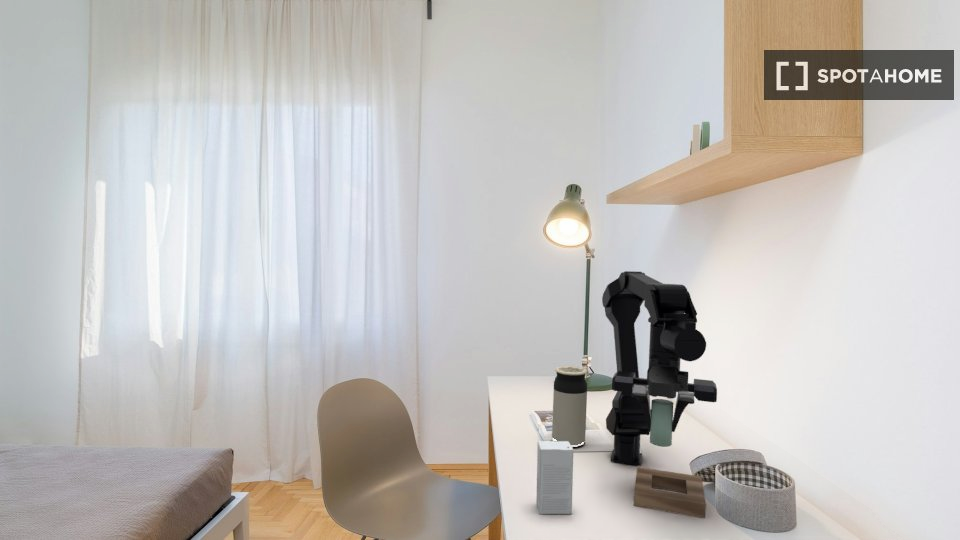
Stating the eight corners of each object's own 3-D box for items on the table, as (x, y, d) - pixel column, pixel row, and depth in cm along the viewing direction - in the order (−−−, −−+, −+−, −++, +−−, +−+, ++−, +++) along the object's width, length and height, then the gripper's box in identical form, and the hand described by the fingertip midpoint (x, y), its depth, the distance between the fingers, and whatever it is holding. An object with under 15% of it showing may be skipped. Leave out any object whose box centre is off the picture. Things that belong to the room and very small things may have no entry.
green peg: (650, 437, 108) (652, 397, 108) (671, 440, 107) (673, 400, 107) (649, 444, 105) (650, 403, 104) (671, 448, 103) (673, 406, 103)
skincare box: (567, 503, 103) (569, 440, 102) (572, 515, 98) (574, 449, 98) (535, 503, 102) (537, 440, 102) (538, 514, 98) (540, 449, 97)
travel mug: (584, 450, 129) (587, 374, 127) (550, 447, 130) (553, 372, 129) (585, 438, 136) (588, 366, 135) (553, 435, 138) (555, 364, 137)
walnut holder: (636, 478, 114) (637, 466, 114) (701, 488, 110) (701, 476, 110) (633, 505, 102) (634, 492, 102) (705, 518, 98) (705, 504, 98)
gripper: (609, 352, 101) (606, 436, 101) (720, 363, 94) (716, 452, 95) (616, 342, 111) (613, 418, 112) (717, 351, 105) (712, 431, 105)
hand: (661, 429), depth 106 cm, fingers closed on green peg, 4 cm apart
